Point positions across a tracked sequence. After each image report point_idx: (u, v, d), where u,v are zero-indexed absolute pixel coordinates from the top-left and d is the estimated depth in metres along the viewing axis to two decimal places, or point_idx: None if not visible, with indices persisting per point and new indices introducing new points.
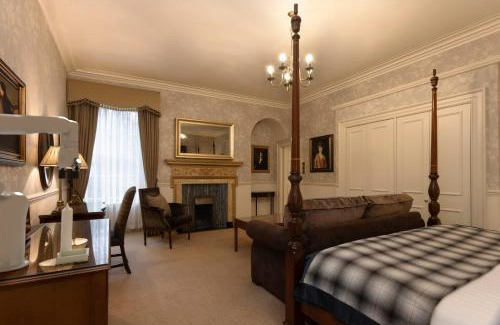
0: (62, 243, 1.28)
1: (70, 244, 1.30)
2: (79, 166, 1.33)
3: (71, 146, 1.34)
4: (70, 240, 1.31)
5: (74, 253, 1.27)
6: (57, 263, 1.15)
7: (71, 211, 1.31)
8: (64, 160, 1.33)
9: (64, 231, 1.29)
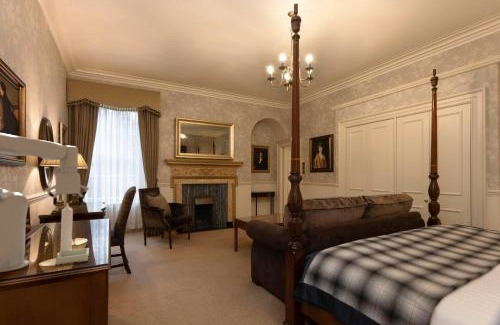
0: (62, 243, 1.28)
1: (70, 244, 1.30)
2: (86, 192, 1.36)
3: (76, 172, 1.33)
4: (70, 240, 1.31)
5: (74, 253, 1.27)
6: (57, 263, 1.15)
7: (71, 211, 1.31)
8: (69, 187, 1.30)
9: (64, 231, 1.29)
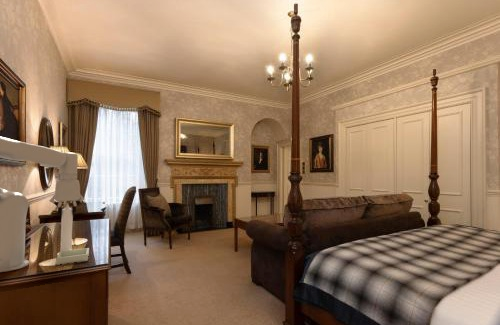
0: (62, 243, 1.28)
1: (70, 244, 1.30)
2: None
3: (76, 179, 1.33)
4: (70, 240, 1.31)
5: (74, 253, 1.27)
6: (57, 263, 1.15)
7: (71, 211, 1.31)
8: (69, 194, 1.30)
9: (64, 231, 1.29)
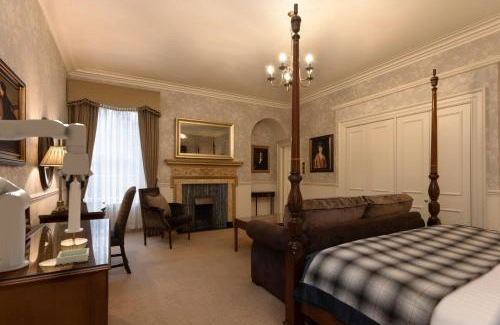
0: (70, 218, 1.21)
1: (78, 220, 1.23)
2: (89, 176, 1.27)
3: (85, 152, 1.26)
4: (79, 216, 1.24)
5: (74, 253, 1.27)
6: (57, 263, 1.15)
7: (79, 186, 1.24)
8: (77, 167, 1.23)
9: (72, 206, 1.22)
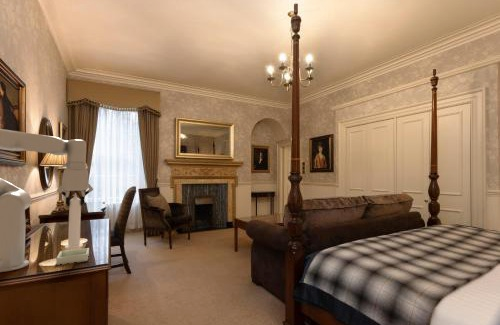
0: (70, 235, 1.21)
1: (78, 236, 1.23)
2: None
3: (85, 168, 1.25)
4: (79, 232, 1.23)
5: (74, 253, 1.27)
6: (57, 263, 1.15)
7: (79, 202, 1.24)
8: (77, 183, 1.22)
9: (72, 223, 1.21)
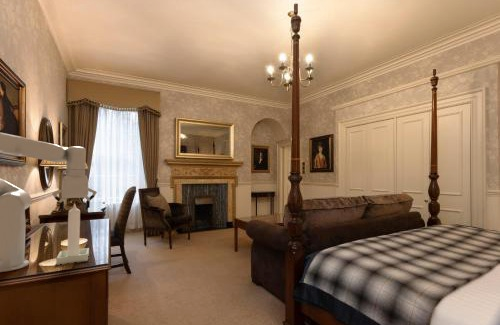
0: (69, 246, 1.21)
1: (77, 247, 1.23)
2: None
3: (84, 175, 1.25)
4: (78, 243, 1.23)
5: None
6: (57, 263, 1.15)
7: (78, 212, 1.23)
8: (77, 190, 1.22)
9: (71, 233, 1.21)
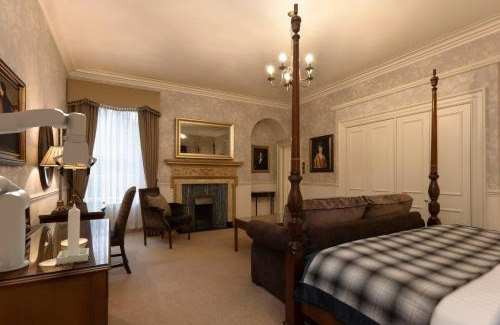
0: (69, 246, 1.21)
1: (77, 247, 1.23)
2: (94, 163, 1.29)
3: (84, 141, 1.26)
4: (78, 243, 1.23)
5: None
6: (57, 263, 1.15)
7: (78, 212, 1.23)
8: (77, 156, 1.23)
9: (71, 233, 1.21)
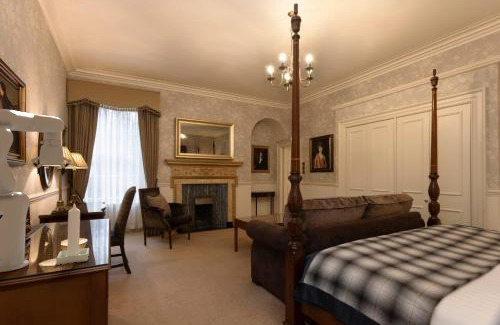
0: (69, 246, 1.21)
1: (77, 247, 1.23)
2: None
3: (60, 145, 1.44)
4: (78, 243, 1.23)
5: None
6: (57, 263, 1.15)
7: (78, 212, 1.23)
8: (53, 158, 1.41)
9: (71, 233, 1.21)
